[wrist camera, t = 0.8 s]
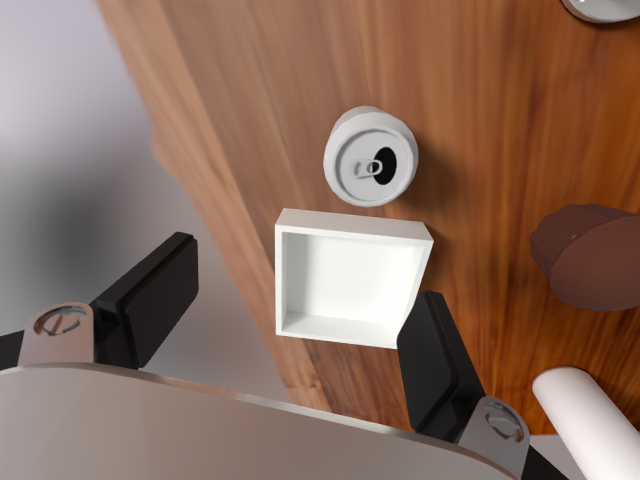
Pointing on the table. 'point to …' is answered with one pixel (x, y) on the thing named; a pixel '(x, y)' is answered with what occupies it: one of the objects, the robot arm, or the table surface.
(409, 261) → the tote
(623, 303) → the muffin
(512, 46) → the table surface
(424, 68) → the table surface
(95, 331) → the robot arm
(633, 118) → the table surface
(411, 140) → the can
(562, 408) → the alcohol
